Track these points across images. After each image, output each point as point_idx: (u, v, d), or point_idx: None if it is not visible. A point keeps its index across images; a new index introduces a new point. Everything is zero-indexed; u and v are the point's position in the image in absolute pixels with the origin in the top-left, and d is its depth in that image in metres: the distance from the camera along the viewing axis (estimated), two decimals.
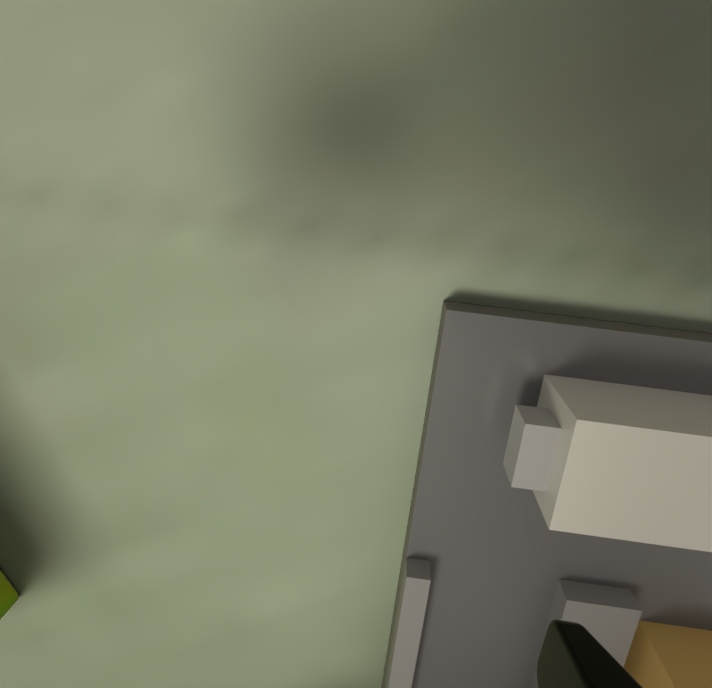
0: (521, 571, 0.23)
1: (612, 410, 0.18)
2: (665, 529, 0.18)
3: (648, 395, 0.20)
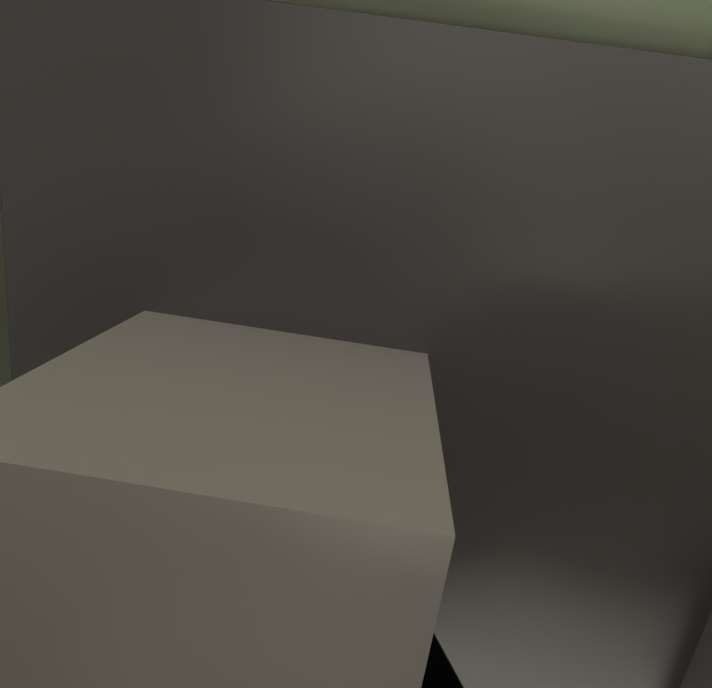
0: None
1: None
2: None
3: None
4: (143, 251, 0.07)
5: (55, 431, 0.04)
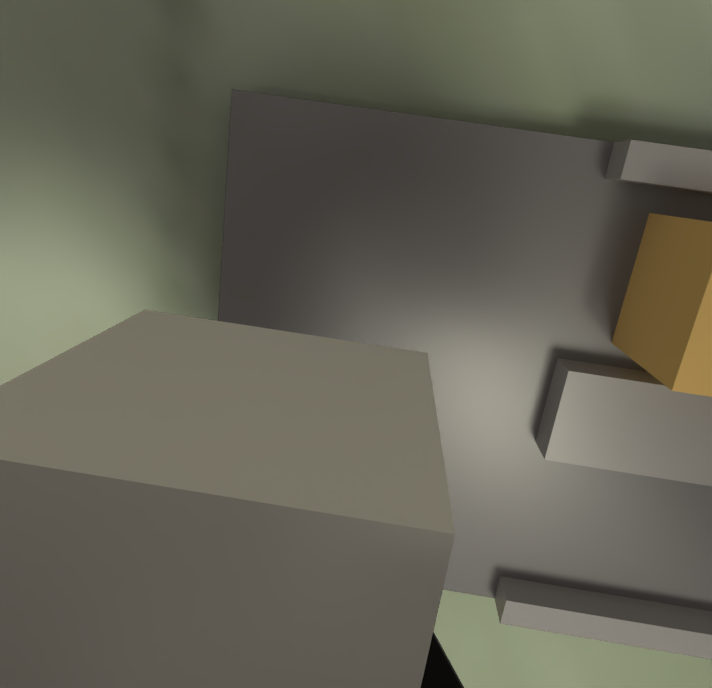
0: (521, 482, 0.19)
1: None
2: None
3: None
4: (288, 210, 0.17)
5: (54, 431, 0.04)
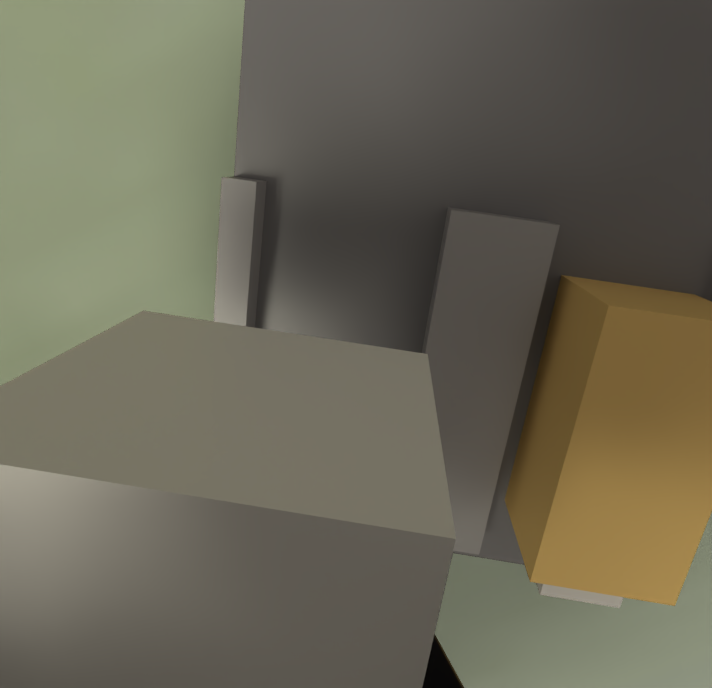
0: (395, 195, 0.16)
1: None
2: None
3: None
4: None
5: (52, 434, 0.04)
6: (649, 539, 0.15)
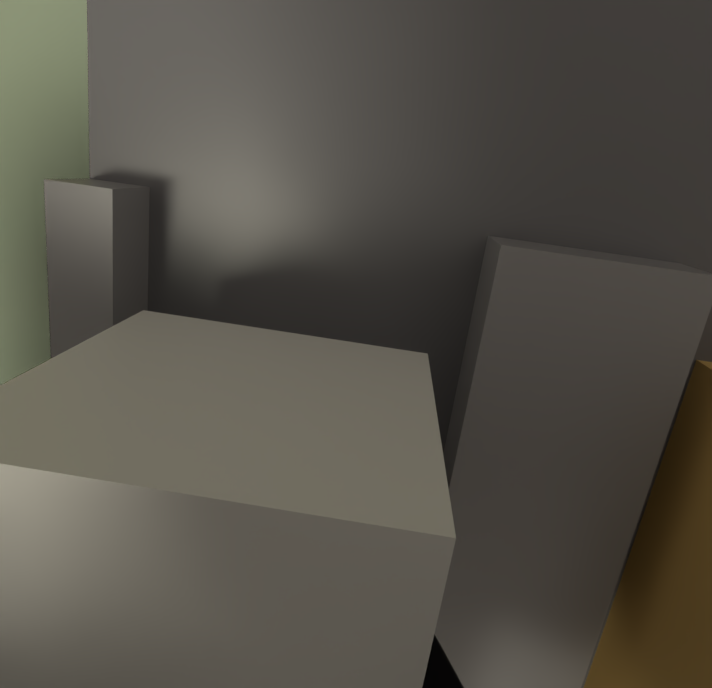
0: (389, 213, 0.09)
1: None
2: None
3: None
4: None
5: (52, 434, 0.04)
6: None
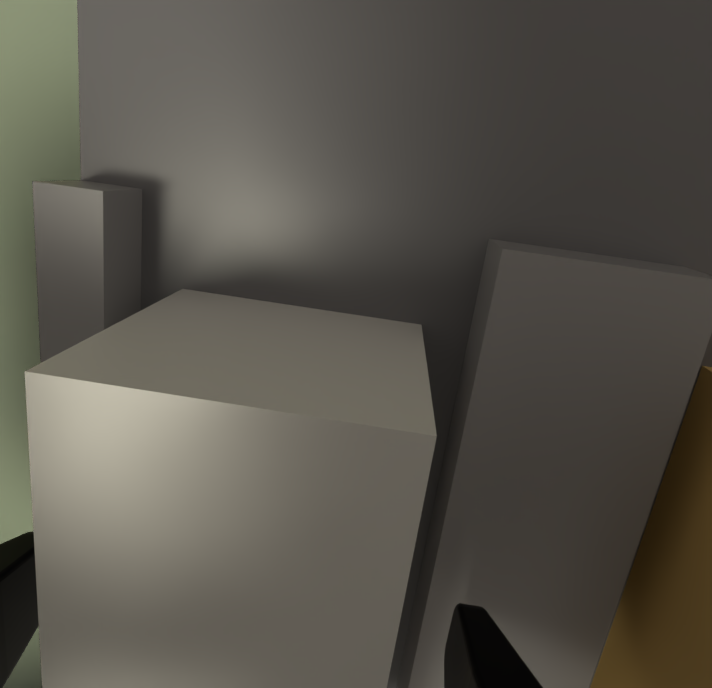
0: (388, 216, 0.08)
1: None
2: None
3: None
4: None
5: (136, 368, 0.06)
6: None
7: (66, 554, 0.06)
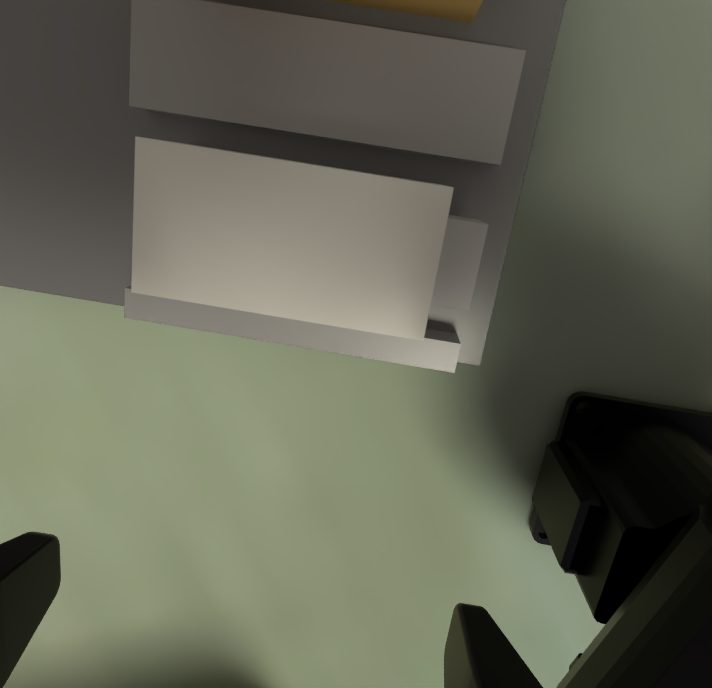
0: None
1: None
2: (306, 189, 0.14)
3: None
4: None
5: None
6: None
7: (206, 292, 0.15)
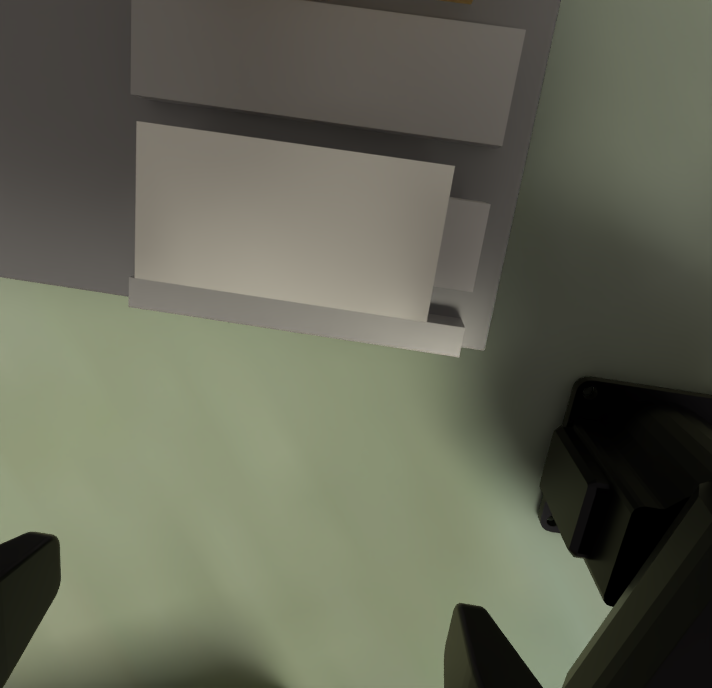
0: None
1: None
2: (307, 170, 0.14)
3: None
4: None
5: None
6: None
7: (209, 276, 0.15)
